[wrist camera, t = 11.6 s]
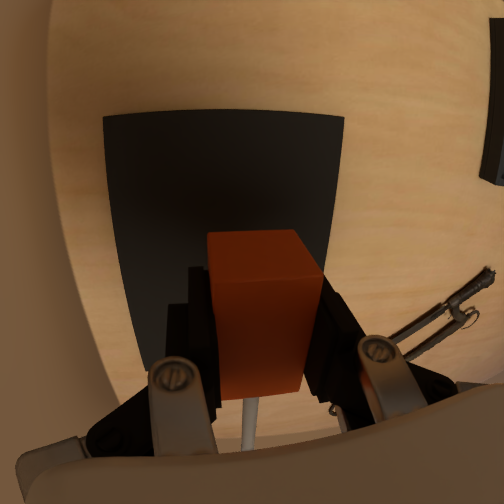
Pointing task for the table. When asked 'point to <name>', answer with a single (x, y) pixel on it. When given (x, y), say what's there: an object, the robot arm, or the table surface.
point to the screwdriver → (261, 314)
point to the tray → (495, 110)
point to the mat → (210, 195)
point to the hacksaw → (460, 318)
